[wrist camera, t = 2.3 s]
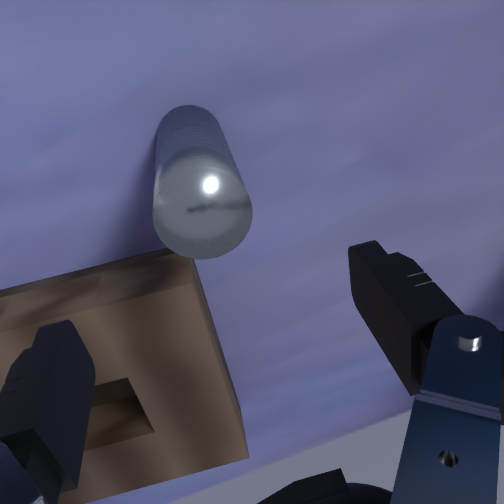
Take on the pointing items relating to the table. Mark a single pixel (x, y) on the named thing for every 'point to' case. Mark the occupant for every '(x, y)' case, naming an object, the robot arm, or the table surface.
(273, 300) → the table surface
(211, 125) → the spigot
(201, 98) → the table surface
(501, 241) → the table surface
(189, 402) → the socket block
